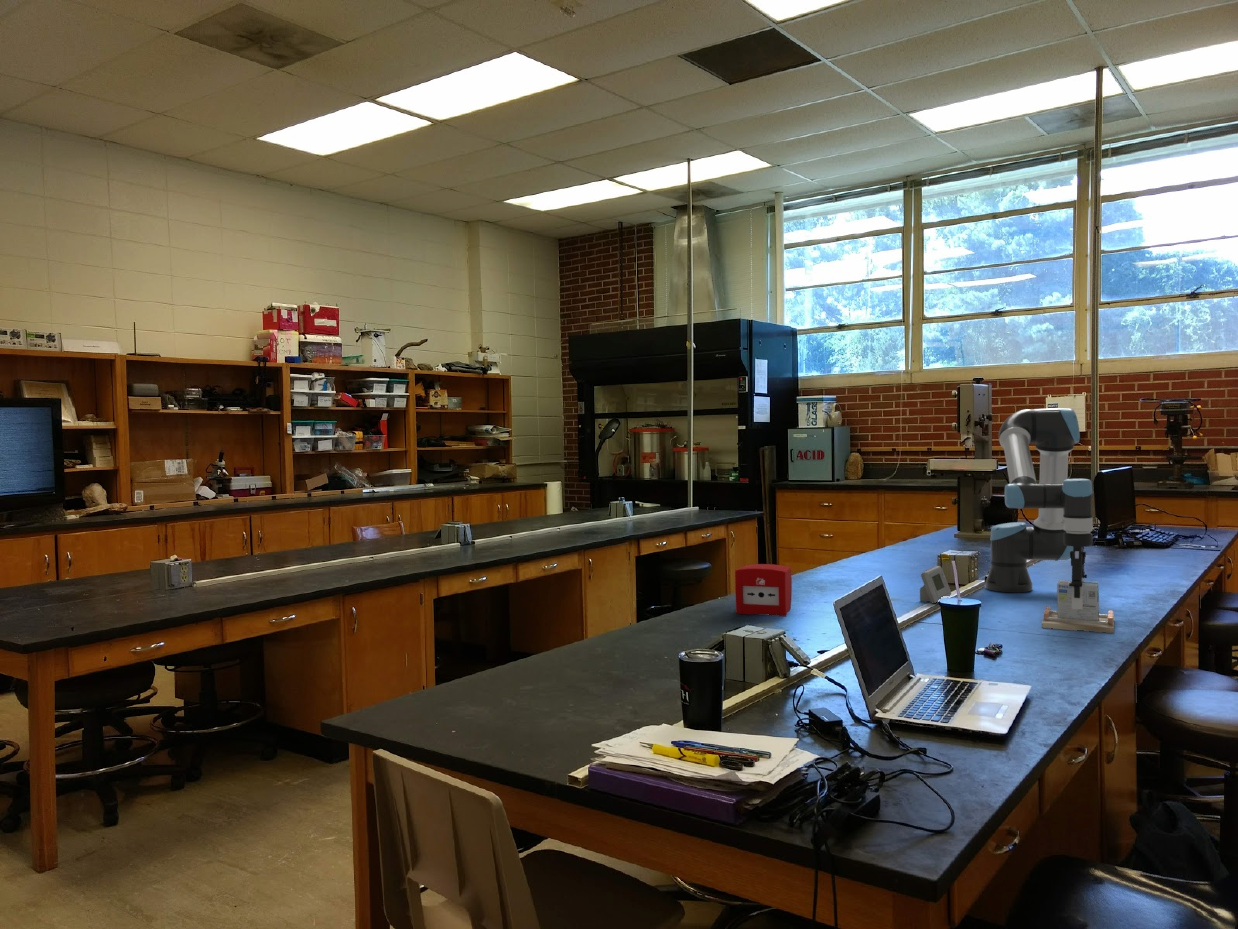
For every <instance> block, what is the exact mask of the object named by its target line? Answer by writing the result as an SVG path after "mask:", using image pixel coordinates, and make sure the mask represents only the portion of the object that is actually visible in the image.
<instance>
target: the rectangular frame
mask: <svg viewBox="0 0 1238 929" xmlns="http://www.w3.org/2000/svg"><path fill="white" fill-rule="evenodd" d="M1050 614H1058V610H1052V607H1051V606H1048V605H1047V606H1045V609H1044V612H1043V618H1044V620H1050V621H1063V622H1076V623H1090V624H1103V625H1113V615H1114V610H1108V614H1107V613H1106V614H1104V613H1103V614H1102V613H1099V617H1101V618H1108V621H1096V620H1083V619H1069V618H1056V617H1050Z"/></svg>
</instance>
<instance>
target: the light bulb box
mask: <svg viewBox="0 0 1238 929" xmlns="http://www.w3.org/2000/svg"><path fill="white" fill-rule="evenodd" d="M1071 582H1072V580H1061V579H1059V580H1058V582H1057V584H1056V586H1057V587H1056V593H1057V594H1056V595H1057V596H1056V597H1057V598H1056V599H1057V606H1056V607H1057V611H1058V618H1069V619H1083V620H1096V621H1098V620H1099V614H1100V594H1099V593H1100V592H1099V589H1100V588H1099V582H1098V581H1084V582H1083V581H1082V587H1083V610H1082V609H1072V586H1069V583H1071Z"/></svg>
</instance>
